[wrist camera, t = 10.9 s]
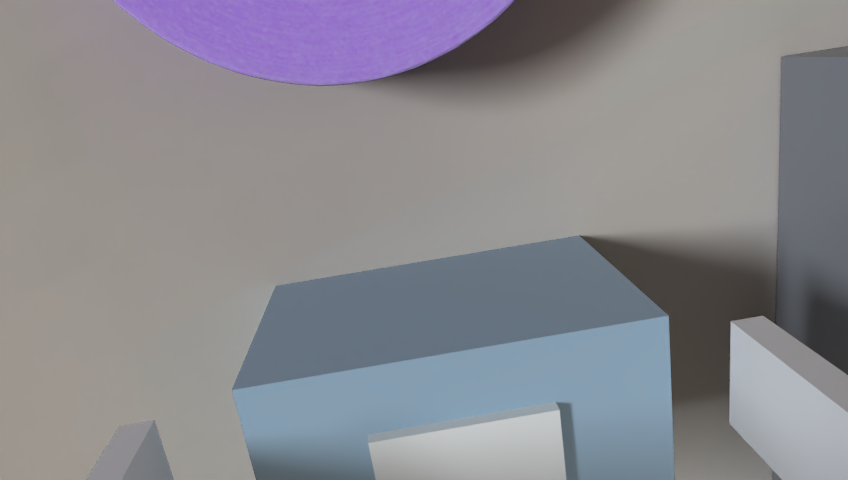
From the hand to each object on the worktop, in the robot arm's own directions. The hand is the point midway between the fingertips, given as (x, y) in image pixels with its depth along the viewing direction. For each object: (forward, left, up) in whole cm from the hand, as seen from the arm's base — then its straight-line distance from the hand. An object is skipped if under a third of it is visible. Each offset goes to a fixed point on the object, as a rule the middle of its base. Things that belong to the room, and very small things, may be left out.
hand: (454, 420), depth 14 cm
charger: (+1, 0, -5) cm, 5 cm away
